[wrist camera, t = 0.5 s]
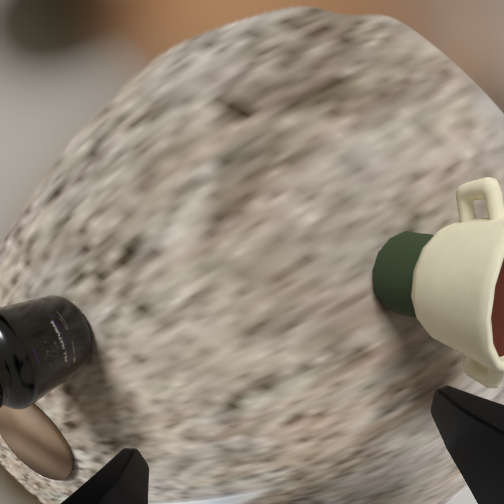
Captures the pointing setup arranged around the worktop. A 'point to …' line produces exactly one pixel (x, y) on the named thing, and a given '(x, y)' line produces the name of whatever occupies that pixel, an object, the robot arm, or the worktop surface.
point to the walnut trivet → (36, 441)
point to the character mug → (454, 281)
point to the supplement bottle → (40, 348)
